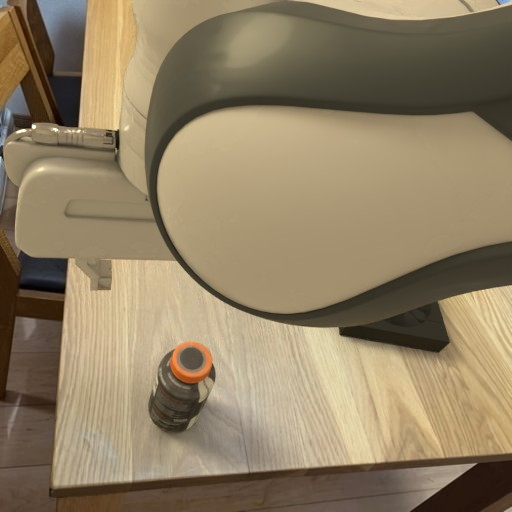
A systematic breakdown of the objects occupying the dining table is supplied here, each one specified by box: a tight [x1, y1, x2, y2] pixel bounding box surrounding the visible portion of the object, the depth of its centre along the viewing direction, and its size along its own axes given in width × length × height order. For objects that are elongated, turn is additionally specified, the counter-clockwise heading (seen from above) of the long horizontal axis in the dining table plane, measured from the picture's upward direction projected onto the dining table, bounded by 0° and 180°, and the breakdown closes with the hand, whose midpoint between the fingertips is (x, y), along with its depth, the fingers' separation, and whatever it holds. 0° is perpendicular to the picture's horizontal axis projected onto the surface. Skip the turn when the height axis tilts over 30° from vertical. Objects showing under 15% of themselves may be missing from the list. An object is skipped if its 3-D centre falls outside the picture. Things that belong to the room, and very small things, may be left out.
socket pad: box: [338, 301, 451, 353], centre depth 76 cm, size 16×16×3 cm
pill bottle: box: [147, 341, 217, 433], centre depth 52 cm, size 6×6×11 cm
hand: (162, 284), depth 39 cm, fingers open, 8 cm apart
